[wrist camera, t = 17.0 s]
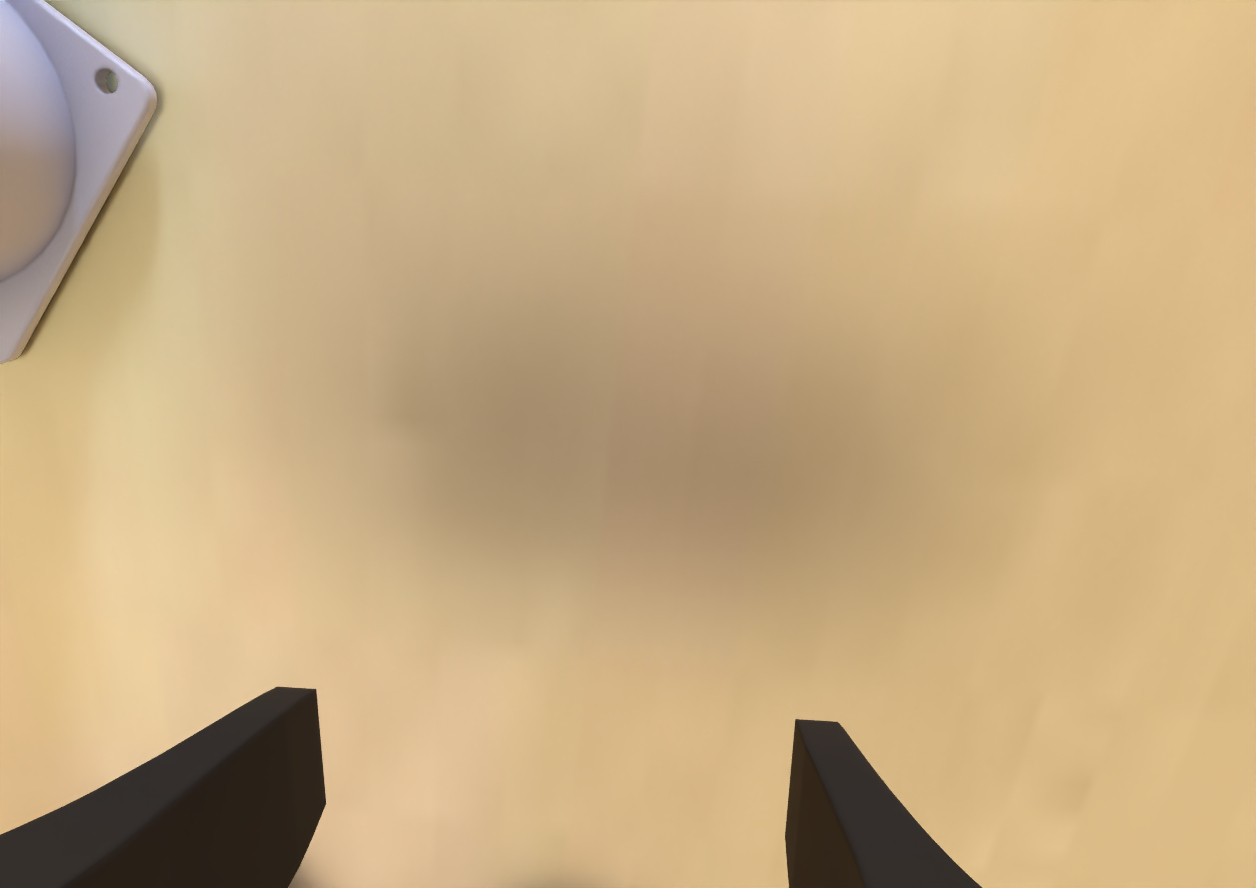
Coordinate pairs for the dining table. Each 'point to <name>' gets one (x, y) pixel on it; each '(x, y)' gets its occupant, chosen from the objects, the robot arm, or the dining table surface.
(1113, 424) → the dining table surface
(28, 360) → the dining table surface
